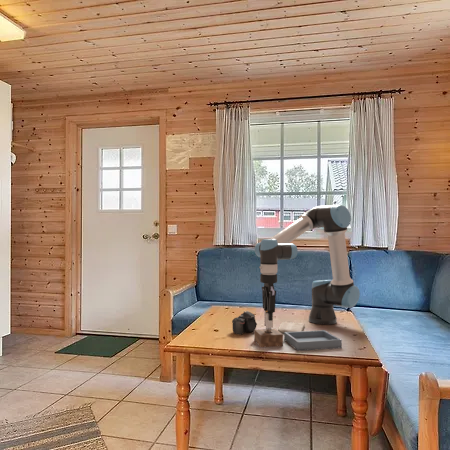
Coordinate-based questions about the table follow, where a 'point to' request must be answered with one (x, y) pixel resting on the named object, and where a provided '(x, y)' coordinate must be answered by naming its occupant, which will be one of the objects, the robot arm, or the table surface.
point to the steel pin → (268, 330)
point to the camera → (244, 323)
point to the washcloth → (290, 327)
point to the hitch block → (268, 338)
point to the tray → (312, 340)
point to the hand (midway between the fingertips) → (268, 326)
